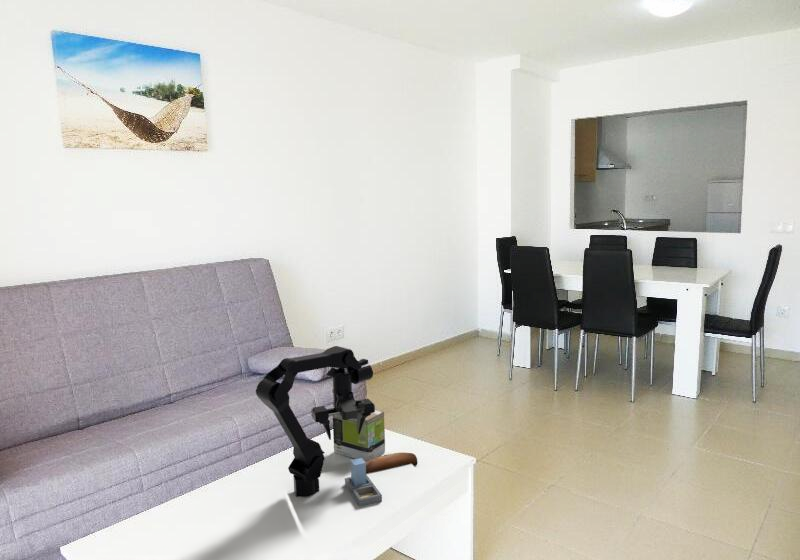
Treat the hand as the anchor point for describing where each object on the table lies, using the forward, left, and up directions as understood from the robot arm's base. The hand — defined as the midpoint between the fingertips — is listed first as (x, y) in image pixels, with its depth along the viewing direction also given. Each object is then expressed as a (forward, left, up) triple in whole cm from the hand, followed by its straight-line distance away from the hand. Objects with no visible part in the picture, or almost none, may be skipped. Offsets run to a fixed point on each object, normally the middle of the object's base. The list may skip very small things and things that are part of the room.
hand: (344, 436), depth 177 cm
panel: (+1, -13, -13) cm, 19 cm away
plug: (+1, -10, -12) cm, 16 cm away
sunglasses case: (+14, +1, -14) cm, 20 cm away
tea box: (+9, +14, -13) cm, 21 cm away
